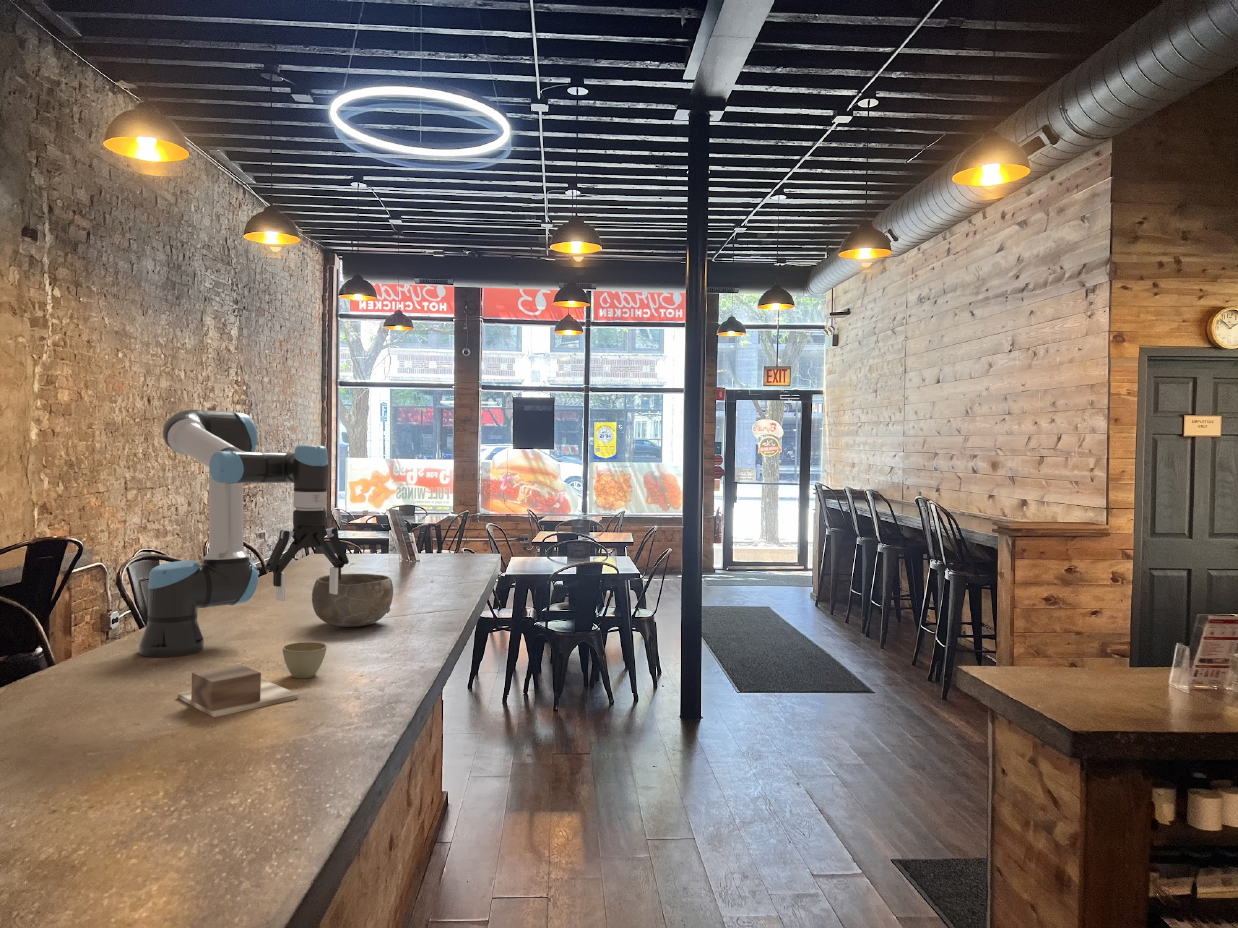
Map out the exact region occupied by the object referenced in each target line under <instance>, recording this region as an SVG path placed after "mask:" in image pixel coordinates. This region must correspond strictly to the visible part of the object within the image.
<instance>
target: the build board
mask: <svg viewBox="0 0 1238 928" xmlns="http://www.w3.org/2000/svg"><path fill="white" fill-rule="evenodd" d="M191 692H192V690H189V691H188V690H187V691H183V692H178V693H177V699H179V700H181V701H183V702H184V703H186V704H188V705H190V706H192V707H194V708H196V709H197V710H199V711H201V712H202V713H205V714H206V715H209V716H211V717H212V718H217V717H221V716H222V717H223V716H226V715H231V714H235V713H240V712H243V711H244V712H245V711H249V710H252V709H253V710H254V709H258V708H262V707H267V706H271V705H275V704H280V703H286V702H289V701H294V700H298V699H299V693H297V692H294V691H292V690H289V689H288V688H285V687H283V686H280V685H279V684H275V683H273V682H271V681H268V680H266V679H264V678H262V677H261V690H260V701H257V702H253V703H248V704H244V705H239V706H234V707H230V708H225V709H220V710H216V711H210V710H208V709H206V708H205V707H203V706H201V705H199V704H197V703H195V702H193V701H191Z"/></svg>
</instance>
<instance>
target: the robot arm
mask: <svg viewBox="0 0 1238 928" xmlns="http://www.w3.org/2000/svg"><path fill="white" fill-rule="evenodd" d="M162 437H163V441H164V443H165V444H166V446H167V447H169V449H171V450H172V451H174V452H176V453H178V454H180V455H186V456H187V455H188V456H190V457H191V458H193V459H195V460H196V461H198V462H200V463H201V464H203V465H204V466H205V467H208V511H209V512H208V526H209V527H208V528H209V529H208V534H209V535H208V538H209V539H208V541H209V543H208V544H209V545H208V547H209V548H208V553H207V554H205V556H204V557H203V558H202V561H203V562H202V564H201V565H200V563H199V562H198V561H197V560H194V559H193V560H191V559H189V560H188V559H187V560H178V561H171V562H166V563H163V564H160V565H156V566H154V567H153V568H151V570H150V571H149V575H148V582H147V591H148V592H147V593H148V594H147V595H148V596H147V624H146V626H145V629H144V631H143V634H142V637H141V639H140V642H139V646H138V654H139V655H141V656H144V657H148V658H172V657H180V656H181V657H182V656H187V655H192V654H195V653H198V652H202V651H203V650H204V648H205V639H204V638H205V637H204V635H203V632H202V630H201V627H200V623H199V621H198V611H199V609H205V608H213V607H214V608H215V607H223V606H235V605H238V604H245V603H246V602H249V600H251V598H252V597H253V596H254V595H255V592H256V591H257V587H258V581H259V571H258V568H257V565H256V563H254V561H251V560H250V555H249V554H248V553H247V552H246V551H245V550H244V484H293V502H292V503H293V505H292V507H293V508H294V510H293V511H292V525H293V528H292V530H291V531H290V530H284V529H281V530H280V531H279V534H278V535H279V536H278V540H277V543H275V546H274V548H273V551H272V552H271V554H270V556H269V558H268V561H266V564H265V567H264V568H265V570H266V571H270V572H272V573H273V578H272V579H273V583H272V584H273V587H276V590H275V591H276V592H275V600H276V601H280V602H284V601H286V572H283V571H284V570H285V569H286V567H287V566H288V565H289V564H290V562H291V561H292V560H293V558H294V557H295V556H296V555H297V553H298V552H299V551H301V550H302V549H309V548H313V549H315V548H318V549H319V550H320V551H321V553H322V554H323V555H324V556H325V557H326V558H327V560H328V561H329V562H330V564H331V565H332V566H330V567H329V575H330V580H329V593H331V594H338V580H340V579H341V574H342V569H343V568H344V566H345V565H348V564H349V563H350V561H349V559H348V555H347V553H346V552H345V549H344V547H343V544H342V542H341V540H340V537H339V531H338V528H337V527H329V528H326V525H327V511H326V509H325V508H327V502H328V501H327V497H328V495H327V494H328V473H329V470H328V469H329V458H328V455H329V454H328V449H327V447H326V446H324V445H304V444H303V445H296V447H294V452H289V451H287V452H285V451H283V452H282V451H281V452H278V451H277V452H271V451H264V452H263V451H256V449H257V445H258V431H257V427H256V425H255V421H253V419H252V417H250V415H248V414H247V413H244V412H237V411H224V410H207V409H206V410H205V409H204V410H203V409H186V410H182V411H179V412H177V413H174V414H173V415H171V416H170V417H169V418H168V419H167V420H166V422H165V423H164V425H163V428H162ZM326 536H327V537H328V538H329V539H328V540H329V541H330V543H331V546H332V548H333V550H334V551H333V550H332V549H331V548H330V546H329V544H328V543H327V541H326V540H325V538H326ZM291 538H292V539H293V541H292V542H291V543H290V545H289V547H288V549H287V550H286V551H285V549H286V547H287V545H288V543H289V540H291ZM283 553H284V554H283Z"/></svg>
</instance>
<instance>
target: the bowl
mask: <svg viewBox="0 0 1238 928" xmlns="http://www.w3.org/2000/svg"><path fill="white" fill-rule="evenodd" d="M329 580H330V574H328V575H323V576H320V577H317V579H316V580H315V582H314V584H313V587H312V593H311V602H312V608H313V610H314V611H313V612H314V613H315V615H316V616H317V617H318V618H319V619H320V620H321V621H322V622H324V623H326V624H329V625H331V626H336V627H342V628H343V627H344V628H345V627H348V628H349V627H350V628H351V627H363V626H368V625H371V624H375V623H377V622H378V621H380V620H382V619H383V618H384V616H386V614H389V613H390V612H391V605H392V603H393V597H394V584H393V580H392V578H391V577H390V576H388V575H383V574H376V573H375V574H373V573H341V579H340V580H338V594H331V593H329Z"/></svg>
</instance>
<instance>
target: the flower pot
mask: <svg viewBox="0 0 1238 928" xmlns="http://www.w3.org/2000/svg"><path fill="white" fill-rule="evenodd" d="M327 646H328V645H327V644H325V643H323V642H319V641H317V642H316V641H301V642H300V641H299V642H293V643H292V642H291V643H287V644H285V645H283V646H282V655H283V659H284V663H285V665H286V668H287V670H288V671H289V673H290V675H291V676H292V677H293V678H296V679H309V678H313V677H314V676H316V674H317V672H319V670H320V667H321V666H322V664H323V661H324V659H325V655H326V652H327V648H328V647H327Z"/></svg>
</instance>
